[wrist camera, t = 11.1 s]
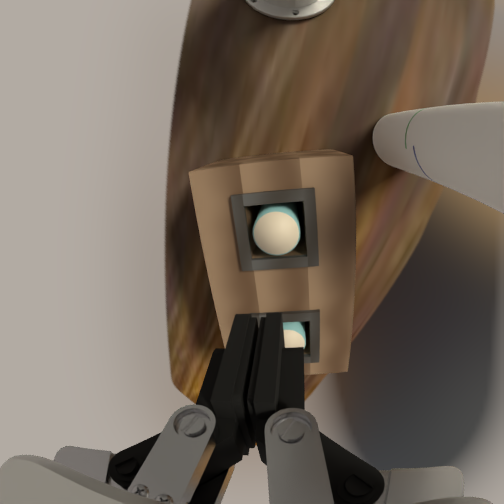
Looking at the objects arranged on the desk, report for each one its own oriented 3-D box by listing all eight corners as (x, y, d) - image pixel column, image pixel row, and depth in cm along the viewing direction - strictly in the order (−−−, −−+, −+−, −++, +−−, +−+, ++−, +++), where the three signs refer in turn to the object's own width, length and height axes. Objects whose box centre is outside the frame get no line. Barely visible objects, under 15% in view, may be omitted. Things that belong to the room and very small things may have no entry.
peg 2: (272, 275, 39) (265, 330, 28) (301, 273, 39) (305, 328, 28) (275, 300, 41) (269, 358, 30) (303, 298, 40) (306, 356, 29)
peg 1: (262, 187, 35) (249, 212, 24) (294, 184, 34) (298, 208, 23) (266, 218, 36) (255, 257, 25) (297, 215, 36) (301, 253, 25)
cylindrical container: (383, 174, 33) (513, 248, 10) (364, 121, 31) (494, 109, 8) (427, 159, 31) (573, 211, 8) (411, 107, 29) (559, 97, 6)
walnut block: (245, 319, 44) (231, 378, 32) (219, 160, 35) (186, 172, 23) (336, 314, 42) (348, 374, 30) (331, 149, 33) (354, 156, 21)
